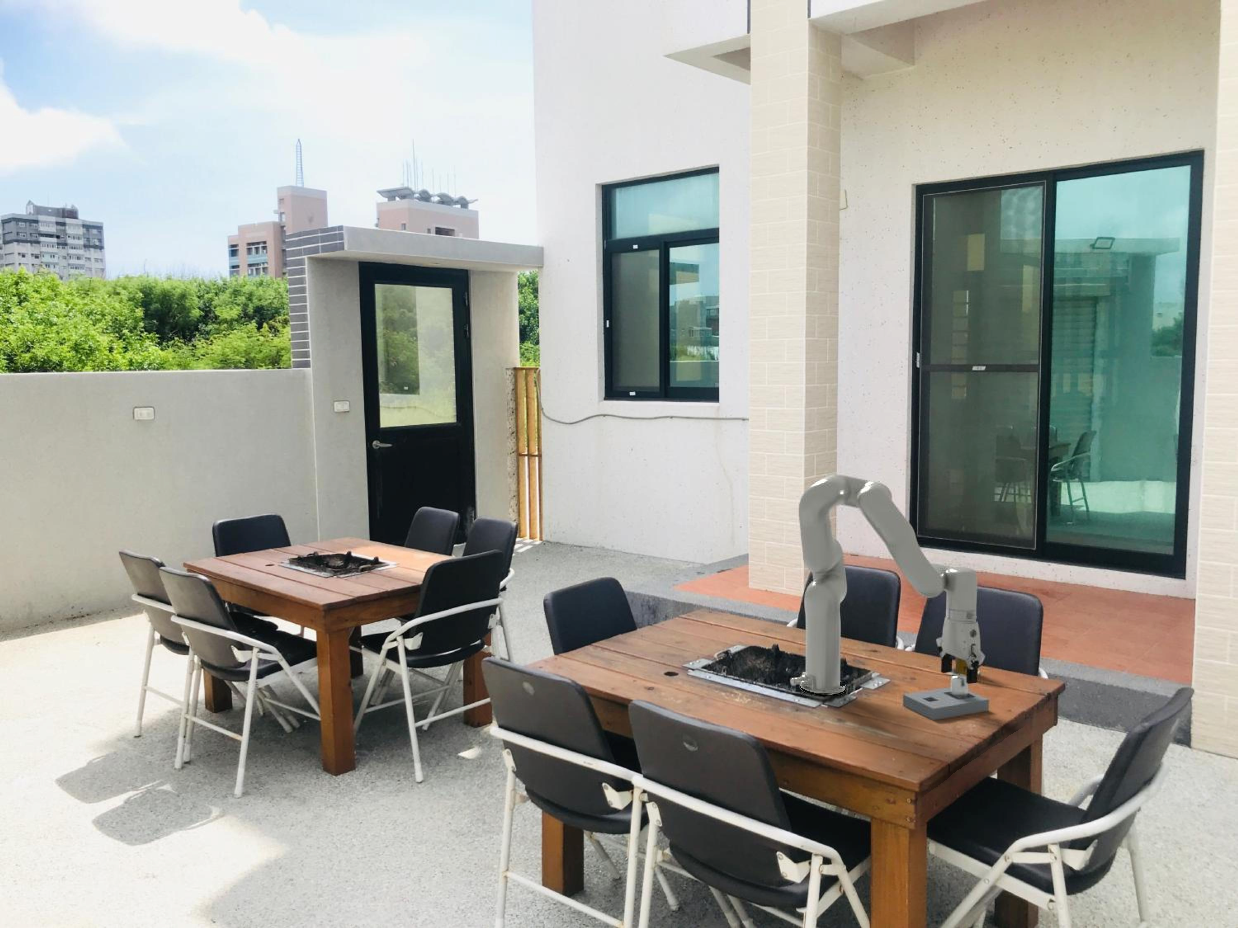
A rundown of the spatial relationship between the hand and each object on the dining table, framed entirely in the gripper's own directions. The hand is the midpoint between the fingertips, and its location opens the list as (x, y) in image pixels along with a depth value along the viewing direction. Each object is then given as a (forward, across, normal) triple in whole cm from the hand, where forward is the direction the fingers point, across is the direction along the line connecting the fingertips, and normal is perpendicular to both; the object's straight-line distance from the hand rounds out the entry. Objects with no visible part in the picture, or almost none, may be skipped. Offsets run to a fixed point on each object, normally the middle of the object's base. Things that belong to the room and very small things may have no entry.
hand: (958, 677), depth 257 cm
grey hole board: (+8, 0, +4) cm, 9 cm away
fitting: (+8, 0, 0) cm, 8 cm away
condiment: (+8, +22, -21) cm, 31 cm away
